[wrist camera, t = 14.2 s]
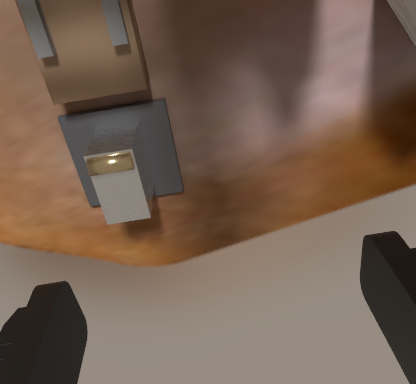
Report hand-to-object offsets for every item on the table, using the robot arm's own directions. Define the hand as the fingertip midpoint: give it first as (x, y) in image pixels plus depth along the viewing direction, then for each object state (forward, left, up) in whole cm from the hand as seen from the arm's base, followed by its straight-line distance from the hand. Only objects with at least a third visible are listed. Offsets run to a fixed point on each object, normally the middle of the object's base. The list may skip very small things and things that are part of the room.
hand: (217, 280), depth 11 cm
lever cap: (+9, -8, -28) cm, 30 cm away
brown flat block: (-6, -8, -28) cm, 30 cm away
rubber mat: (+9, -8, -28) cm, 31 cm away
